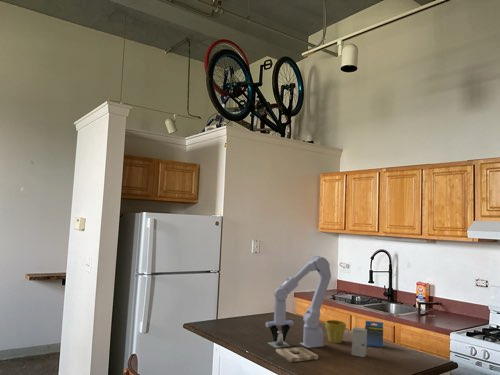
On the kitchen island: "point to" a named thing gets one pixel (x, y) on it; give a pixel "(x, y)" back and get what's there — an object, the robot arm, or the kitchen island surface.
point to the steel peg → (279, 338)
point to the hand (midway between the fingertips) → (279, 340)
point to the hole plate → (298, 357)
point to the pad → (278, 345)
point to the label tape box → (374, 333)
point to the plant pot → (335, 330)
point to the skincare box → (359, 341)
